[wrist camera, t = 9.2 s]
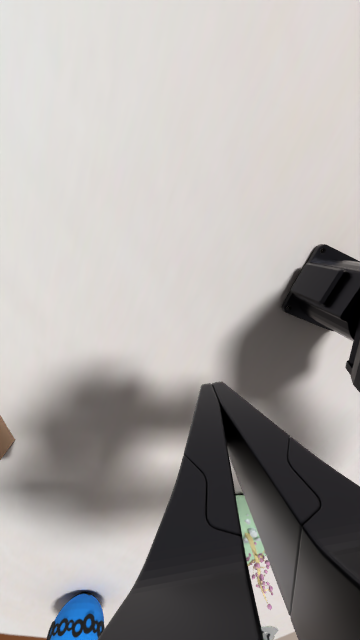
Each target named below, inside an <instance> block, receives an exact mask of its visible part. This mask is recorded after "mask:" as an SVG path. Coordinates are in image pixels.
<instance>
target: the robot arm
mask: <svg viewBox="0 0 360 640" xmlns="http://www.w3.org/2000/svg"><path fill="white" fill-rule="evenodd" d="M322 248H323V251H322V252H321V253H320V250H321V249H322ZM287 306H289V308H288V309H286V308H287ZM282 310H283V311H284V312H286V313H288V314H291V315H293V316H296V317H298V318H301V319H303V320H306V321H308V322H311V323H313V324H316V325H318V326H321V327H323V328H326V329H328V330H331V331H335V332H337V333H339V334H341V335H343V336H344V337H346V338H348V339H350V340H352V341H353V346H352V350H351V354H350V358H349V360H348V361H347V363H346V369H347V371H348V372H349V373H350V375H351V379H352V382H353V385H354V386H355V387H356V388H357V390H358V391H359V392H360V261H358V260H356V259H354V258H352V257H350V256H348V255H346V254H344V253H342V252H340V251H338V250H336V249H334V248H332V247H330V246H328V245H325V244H320V245H318V246H317V247H316V248H315V250H314V251H313V253H312V255H311V257H310V258H309V260H308V262H307V263H306V264H305V266H304V267H303V269H302V271H301V272H300V274H299V276H298V278H297V279H296V281H295V283H294V284H293V286H292V288H291V291H290V293H289V294H288V296H287V298H286V299H285V301H284V303H283V305H282ZM229 457H230V460H231V462H232V465H233V468H234V470H235V473H236V476H237V478H238V481H239V484H240V486H241V489H242V491H243V494H244V497H245V499H246V502H247V505H248V507H249V510H250V513H251V515H252V518H253V521H254V523H255V526H256V528H257V531H258V534H259V536H260V539H261V542H262V544H263V547H264V550H265V552H266V555H267V558H268V560H269V563H270V565H271V568H272V571H273V573H274V576H275V579H276V581H277V584H278V587H279V589H280V592H281V595H282V597H283V600H284V602H285V605H286V608H287V610H288V613H289V615H290V616H291V621H292V624H293V626H294V629H295V632H296V634H297V637H298V639H299V640H360V486H358V485H357V484H355V483H354V482H352V481H351V480H349V479H348V478H346V477H345V476H343V475H342V474H340V473H339V472H337V471H336V470H335V469H333V468H332V467H330V466H329V465H327V464H326V463H325V462H323V461H322V460H320V459H319V458H317V457H316V456H315V455H314V454H312V453H311V452H310V451H308V450H307V449H306V448H304V447H303V446H302V445H301V444H299V443H298V442H297V441H296V440H294V439H293V438H292V437H290V436H289V435H288V434H287V433H285V432H284V431H283V430H282V429H280V428H279V427H278V426H277V425H275V424H274V423H273V422H272V421H270V420H269V419H268V418H267V417H266V416H264V415H263V414H262V413H261V412H259V411H258V410H257V409H256V408H254V407H253V406H252V405H251V404H249V403H248V402H247V401H246V400H244V399H243V398H242V397H241V396H239V395H238V394H237V393H236V392H234V391H233V390H232V389H231V388H229V387H228V386H227V385H226V384H224V383H223V382H215V383H212V384H210V383H209V384H203V385H202V386H201V389H200V393H199V396H198V400H197V404H196V408H195V412H194V416H193V420H192V424H191V428H190V432H189V436H188V440H187V443H186V447H185V451H184V456H183V459H182V463H181V466H180V470H179V473H178V477H177V480H176V484H175V486H174V489H173V492H172V495H171V498H170V500H169V503H168V506H167V508H166V511H165V513H164V516H163V518H162V521H161V524H160V526H159V529H158V531H157V534H156V536H155V539H154V541H153V544H152V547H151V549H150V552H149V554H148V557H147V559H146V561H145V564H144V566H143V568H142V570H141V572H140V575H139V577H138V579H137V580H136V582H135V584H134V586H133V588H132V589H131V591H130V593H129V594H128V596H127V597H126V599H125V600H124V602H123V603H122V605H121V606H120V607H119V609H118V610H117V612H116V613H115V615H114V616H113V618H112V619H111V621H110V622H109V624H108V625H107V626H106V628H105V629H104V631H103V632H102V634H101V635H100V637H99V638H98V640H264V638H263V634H262V629H261V625H260V620H259V616H258V611H257V607H256V602H255V598H254V593H253V589H252V584H251V579H250V575H249V570H248V564H247V559H246V554H245V548H244V542H243V539H242V531H241V525H240V519H239V513H238V507H237V501H236V495H235V489H234V484H233V478H232V472H231V466H230V460H229Z"/></svg>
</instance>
